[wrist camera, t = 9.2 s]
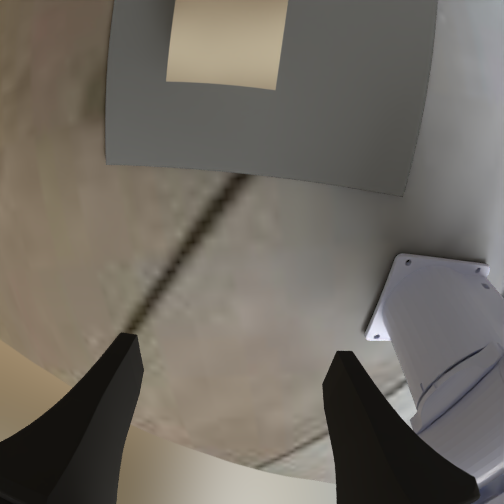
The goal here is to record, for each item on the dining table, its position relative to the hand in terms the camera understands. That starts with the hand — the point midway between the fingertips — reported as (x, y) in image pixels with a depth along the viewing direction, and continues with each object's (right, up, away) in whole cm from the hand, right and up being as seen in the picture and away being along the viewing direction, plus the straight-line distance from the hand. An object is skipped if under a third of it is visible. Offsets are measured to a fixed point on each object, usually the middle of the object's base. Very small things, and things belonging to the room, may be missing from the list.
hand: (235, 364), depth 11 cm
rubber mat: (+2, +15, +3) cm, 16 cm away
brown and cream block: (0, +17, +1) cm, 17 cm away
